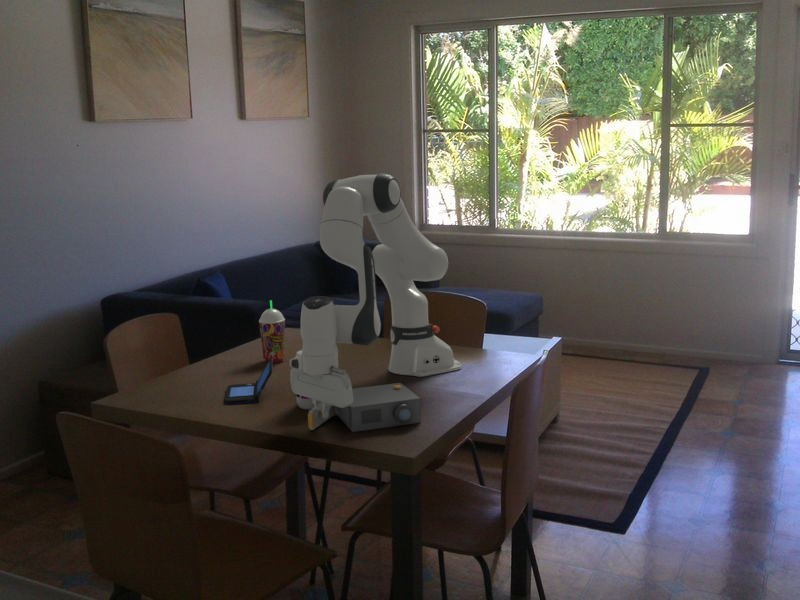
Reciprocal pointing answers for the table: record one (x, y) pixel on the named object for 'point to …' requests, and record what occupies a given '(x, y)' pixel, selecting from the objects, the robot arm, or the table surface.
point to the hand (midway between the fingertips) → (322, 417)
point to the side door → (318, 418)
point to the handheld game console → (248, 388)
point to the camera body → (381, 407)
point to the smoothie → (272, 334)
